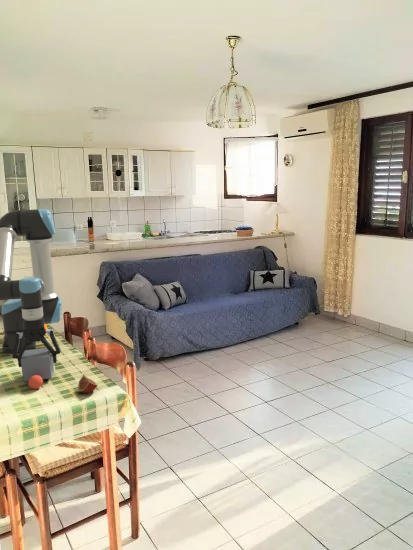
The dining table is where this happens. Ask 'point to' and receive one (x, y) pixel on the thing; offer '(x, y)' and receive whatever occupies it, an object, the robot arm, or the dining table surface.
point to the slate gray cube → (36, 363)
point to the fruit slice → (86, 385)
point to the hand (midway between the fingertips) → (38, 372)
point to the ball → (35, 381)
